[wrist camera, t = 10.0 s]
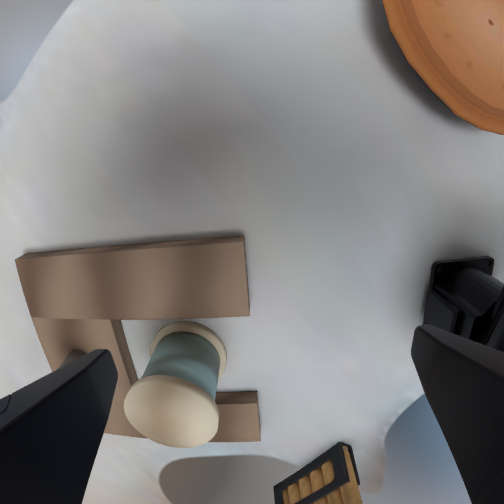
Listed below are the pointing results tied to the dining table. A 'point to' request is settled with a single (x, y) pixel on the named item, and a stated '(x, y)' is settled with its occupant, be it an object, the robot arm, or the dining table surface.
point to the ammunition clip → (323, 480)
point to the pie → (456, 53)
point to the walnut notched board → (138, 308)
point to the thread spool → (179, 387)
